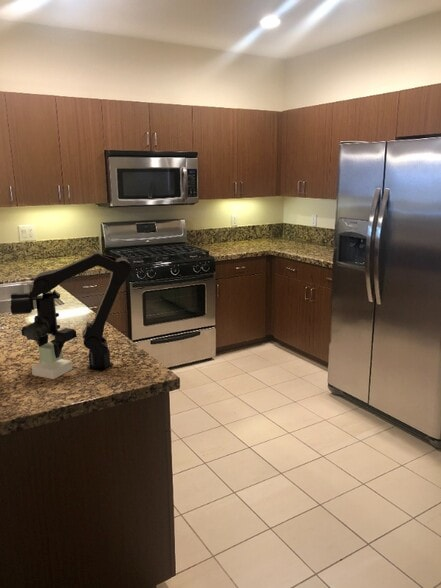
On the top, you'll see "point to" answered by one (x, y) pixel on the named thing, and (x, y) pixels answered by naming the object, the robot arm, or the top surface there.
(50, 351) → the cube
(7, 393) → the top surface
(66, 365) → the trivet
